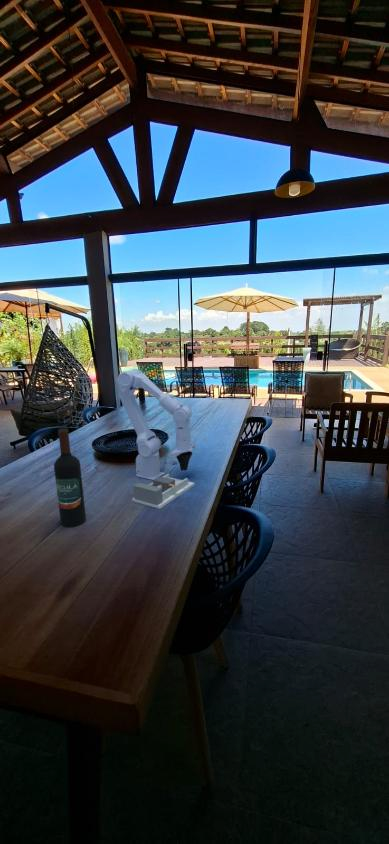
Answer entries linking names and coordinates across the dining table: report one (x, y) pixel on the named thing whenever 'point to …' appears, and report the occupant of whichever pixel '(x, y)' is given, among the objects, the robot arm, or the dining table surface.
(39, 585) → the dining table surface
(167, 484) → the block with orange peg
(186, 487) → the gauge frame
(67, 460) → the wine bottle
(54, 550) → the dining table surface
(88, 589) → the dining table surface
